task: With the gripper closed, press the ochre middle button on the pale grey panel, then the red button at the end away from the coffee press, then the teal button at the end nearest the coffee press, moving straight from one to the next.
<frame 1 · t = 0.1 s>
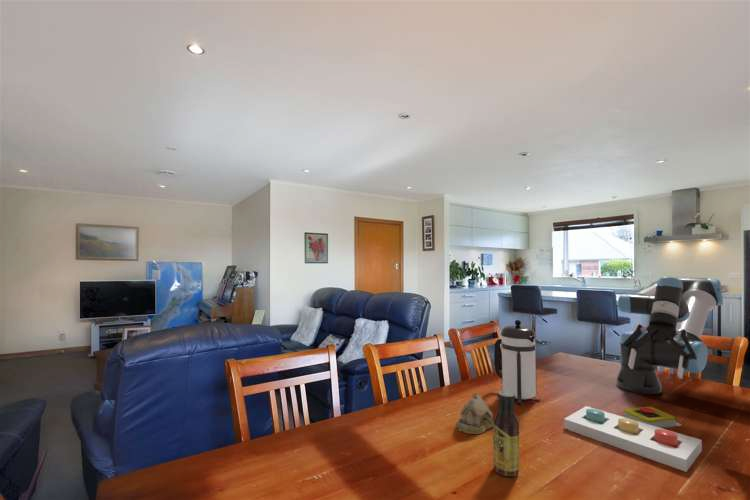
hand: (654, 371, 122), 15 cm above the table, tool tilted 35°, fingers open, 13 cm apart
red button: (665, 439, 101), point 3 cm above the table, slide at 0.0 cm
button panel: (628, 438, 108), on the table
teal button: (595, 417, 115), point 3 cm above the table, slide at 0.0 cm
coffee press: (515, 397, 142), on the table
sauce bottle: (506, 472, 92), on the table
ochre button: (628, 427, 108), point 3 cm above the table, slide at 0.0 cm
emergency button: (650, 423, 120), on the table
ceramic model: (475, 426, 118), on the table
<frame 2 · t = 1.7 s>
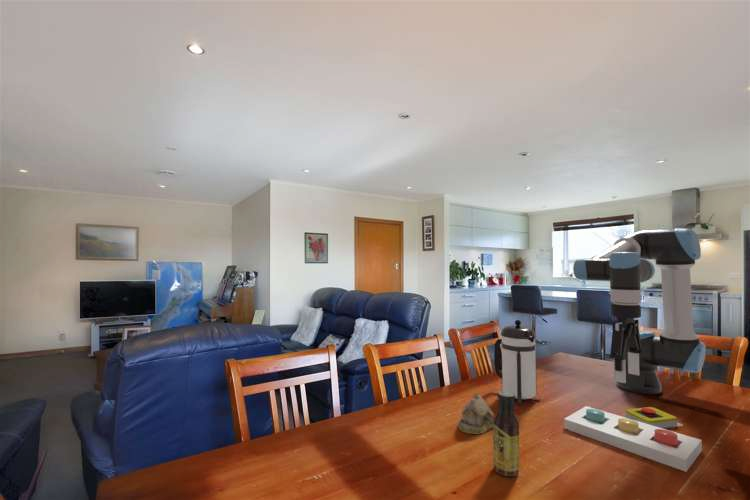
hand: (627, 377, 109), 18 cm above the table, tool pointing down, fingers open, 10 cm apart
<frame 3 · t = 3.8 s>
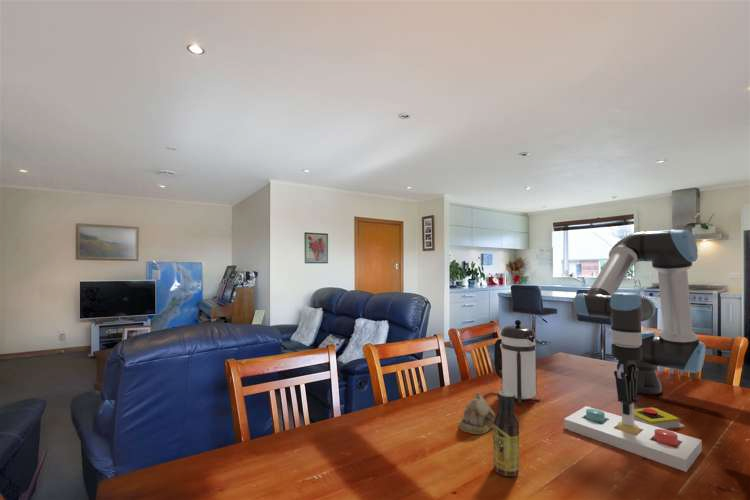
hand: (628, 424, 108), 4 cm above the table, tool pointing down, fingers closed
ochre button: (628, 431, 108), point 2 cm above the table, slide at 1.0 cm, touching gripper
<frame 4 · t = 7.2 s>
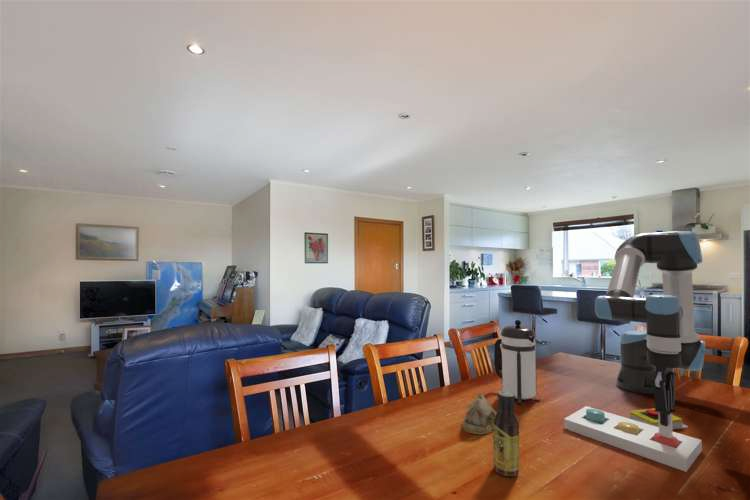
hand: (665, 436, 101), 4 cm above the table, tool pointing down, fingers closed
red button: (666, 443, 101), point 2 cm above the table, slide at 1.0 cm, touching gripper
ochre button: (628, 431, 108), point 2 cm above the table, slide at 1.0 cm
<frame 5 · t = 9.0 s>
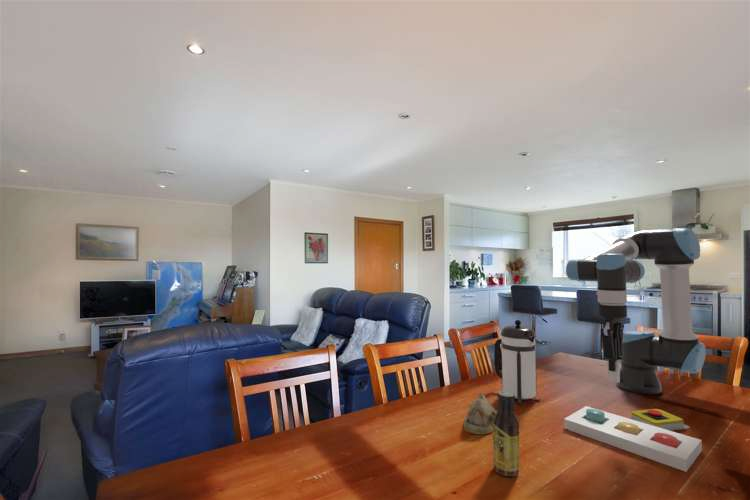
hand: (614, 380, 112), 16 cm above the table, tool pointing down, fingers closed
red button: (666, 443, 101), point 2 cm above the table, slide at 1.0 cm
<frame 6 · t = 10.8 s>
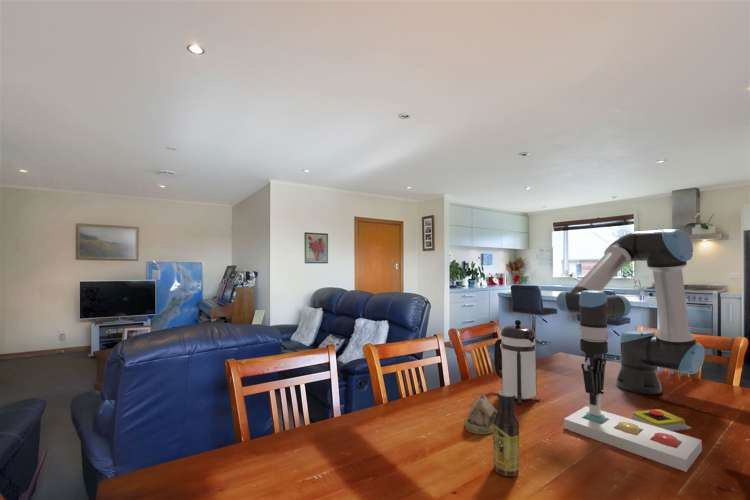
hand: (595, 414, 115), 4 cm above the table, tool pointing down, fingers closed
teal button: (595, 420, 115), point 2 cm above the table, slide at 0.9 cm, touching gripper
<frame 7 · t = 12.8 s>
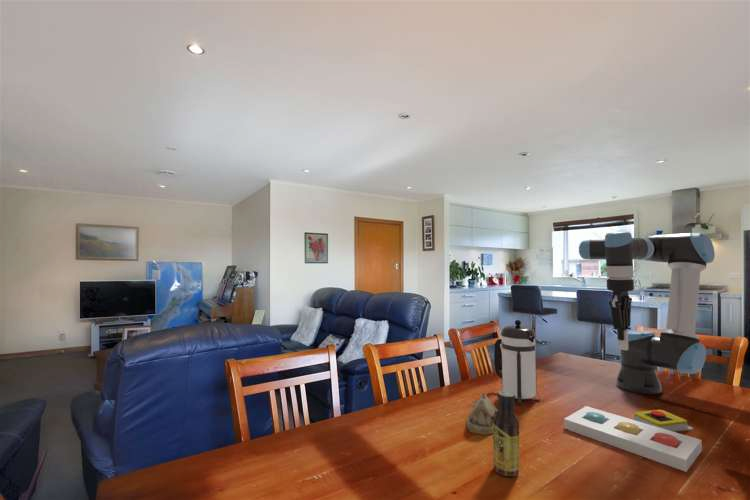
hand: (623, 349, 121), 23 cm above the table, tool pointing down, fingers closed
teal button: (595, 420, 115), point 2 cm above the table, slide at 1.0 cm
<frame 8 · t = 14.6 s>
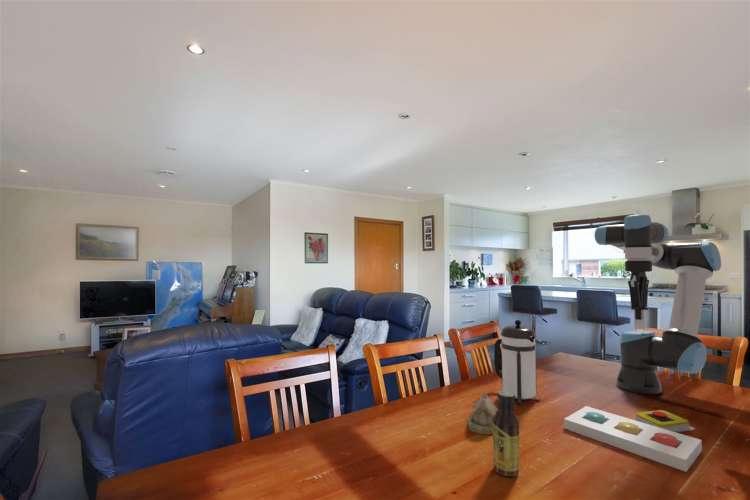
hand: (639, 328, 125), 29 cm above the table, tool pointing down, fingers closed
at the end: ochre button slide at 1.0 cm; red button slide at 1.0 cm; teal button slide at 1.0 cm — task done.
